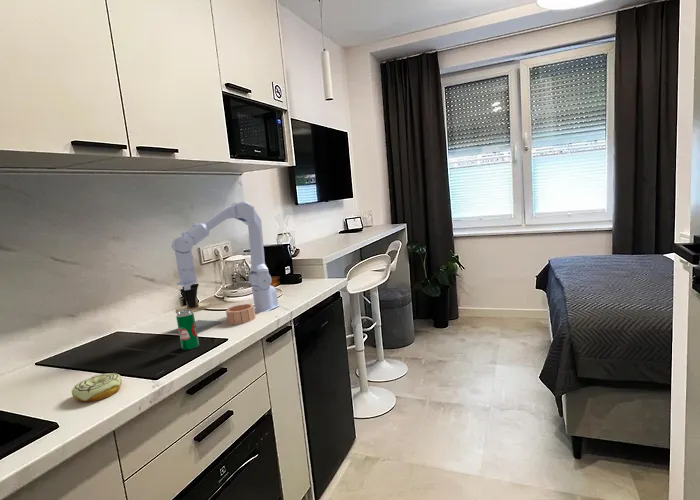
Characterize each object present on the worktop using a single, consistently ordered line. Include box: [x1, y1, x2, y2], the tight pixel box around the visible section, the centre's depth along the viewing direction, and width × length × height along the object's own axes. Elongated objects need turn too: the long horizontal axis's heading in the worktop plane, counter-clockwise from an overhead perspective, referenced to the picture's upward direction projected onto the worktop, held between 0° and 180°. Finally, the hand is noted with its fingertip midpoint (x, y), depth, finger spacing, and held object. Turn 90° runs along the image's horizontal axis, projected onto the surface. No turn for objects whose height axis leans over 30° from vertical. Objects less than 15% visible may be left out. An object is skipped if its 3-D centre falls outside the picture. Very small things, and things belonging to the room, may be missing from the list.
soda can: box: [175, 310, 200, 351], centre depth 125 cm, size 5×5×12 cm
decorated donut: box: [71, 372, 123, 403], centre depth 100 cm, size 10×11×4 cm
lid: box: [175, 297, 212, 314], centre depth 146 cm, size 12×12×4 cm
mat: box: [167, 319, 225, 335], centre depth 147 cm, size 14×14×1 cm
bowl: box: [225, 303, 257, 325], centre depth 149 cm, size 10×10×5 cm
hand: (192, 305), depth 146 cm, fingers closed on lid, 4 cm apart
